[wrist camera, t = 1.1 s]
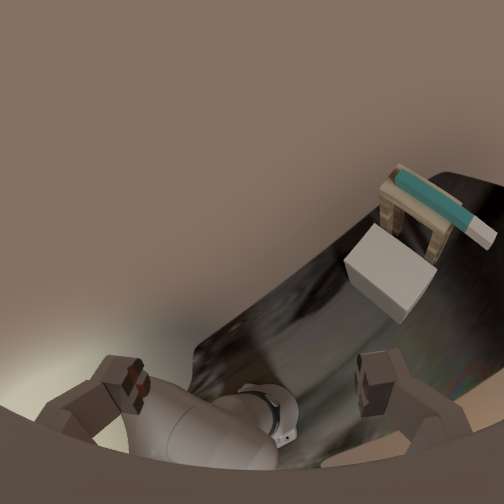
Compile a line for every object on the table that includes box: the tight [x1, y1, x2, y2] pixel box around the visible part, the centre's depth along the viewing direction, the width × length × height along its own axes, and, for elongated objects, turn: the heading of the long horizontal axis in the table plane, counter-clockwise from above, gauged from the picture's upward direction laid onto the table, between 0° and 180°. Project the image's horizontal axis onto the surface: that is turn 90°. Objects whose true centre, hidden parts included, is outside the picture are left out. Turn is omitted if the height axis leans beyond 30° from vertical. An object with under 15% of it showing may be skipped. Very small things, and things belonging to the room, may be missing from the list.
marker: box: [395, 169, 497, 250], centre depth 40 cm, size 2×20×2 cm, turn 43°
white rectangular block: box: [344, 223, 437, 325], centre depth 58 cm, size 10×16×16 cm, turn 43°
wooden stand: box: [379, 164, 462, 265], centre depth 55 cm, size 7×14×26 cm, turn 43°
